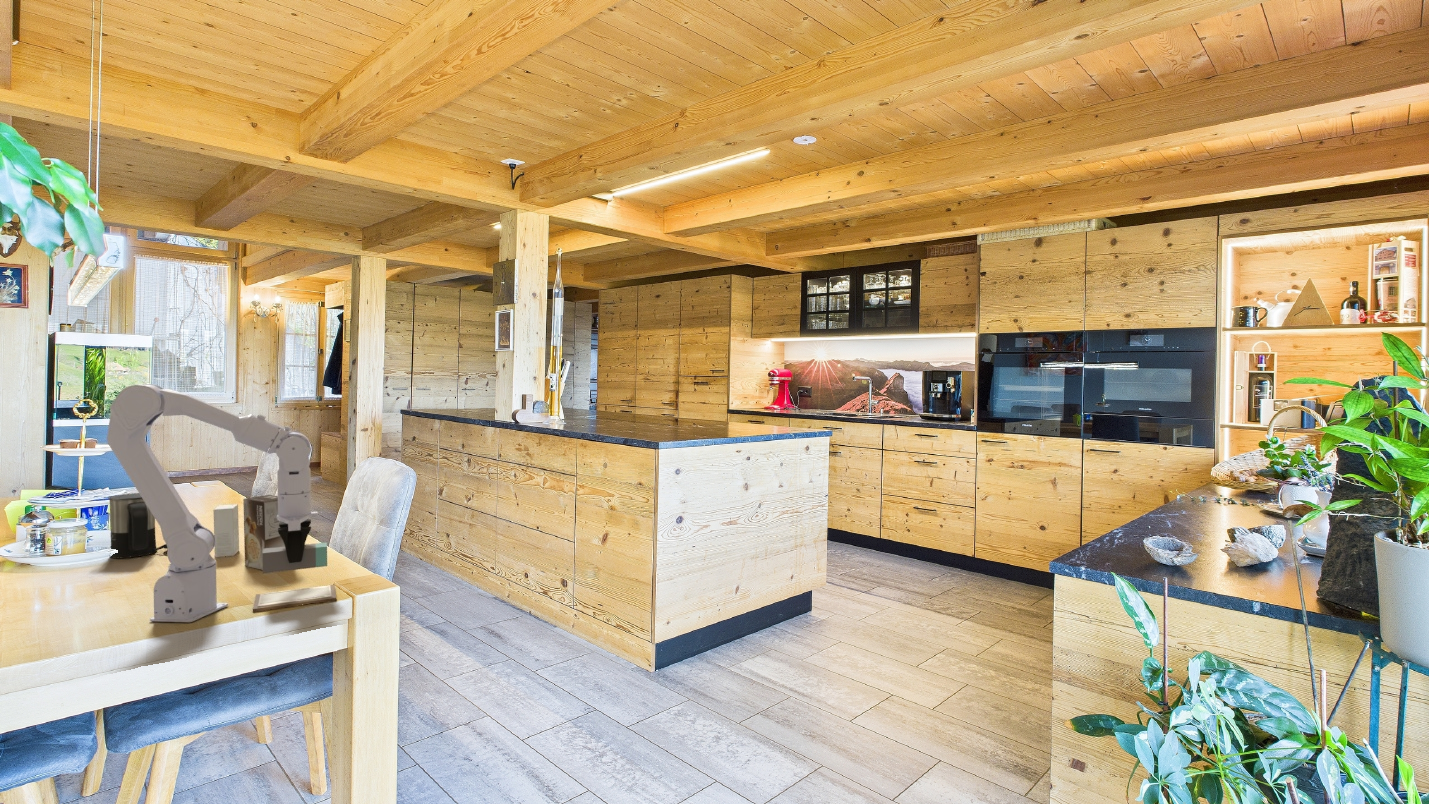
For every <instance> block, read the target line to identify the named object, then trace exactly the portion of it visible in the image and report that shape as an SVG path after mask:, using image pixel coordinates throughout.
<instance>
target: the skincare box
mask: <svg viewBox="0 0 1429 804" xmlns="http://www.w3.org/2000/svg"><path fill="white" fill-rule="evenodd" d="M239 528H240V526H239V505H238V504H237V503H233V504H219V505H218V506H216V507H215V508H214V509H213V534H214V536H215V546H214V557H215V558H223V557H225V556H226V557H235V555H236V554H237V553H238V552H239V551H240V529H239Z"/></svg>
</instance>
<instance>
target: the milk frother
mask: <svg viewBox="0 0 1429 804" xmlns="http://www.w3.org/2000/svg"><path fill="white" fill-rule="evenodd" d="M107 499H108V500H109V523H110V526H109V528H110V548H111V549H116V550H118V553H115V554H113V555H112V556H111V557H110V558H112V559H128V558H135V557H143V556H148V555H152V554H155V553H157V552H158V551H159V550H162V549H165V550H166V549H167V550H168V548H167V545H166V543H165V544H162V545H161V546H159V547H157V540H156V519H155V517H154V516H153V514H152V513H151V511H150V510H149V508H148V506H147V505H146V503H145V502H144V500H143V498H142V497H141V495H140V494H139V492H134V493H133V492H132V493H126V494H125V493H124V494H116V495H111V496H108V497H107ZM110 548H109V549H110Z"/></svg>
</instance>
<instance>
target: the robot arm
mask: <svg viewBox="0 0 1429 804" xmlns="http://www.w3.org/2000/svg"><path fill="white" fill-rule="evenodd" d="M109 409H110V416H109V423H108V429H107V435H106V442H107V445H109V447H110V449H111V451H112V452H113V454H114V456H115V458H116V459H117V460H118V462H119V464H120V465H121V467H122V469H123V470H124V471H125V473H126V475H127V476H128V478H129V479H130V481H131V483H132V485H133V486H134V488H135V489H136V491H137V493H139V494H140V495H141V497H142V498H143V500H144V502H145V503H146V505H147V506H148V508H149V510H150V511H151V513H152V514H153V516H154V517H155V522H157V523H158V525H159V528H160V532H161V536H162V539H163V541H164V543H165V544H166V545H167V548H168V549H167V559H168V561H169V562H170V563H169V564H168V566H167V567H168V569H167V571H166V573H165V574H164V575H163V576H161V577H159V578H158V579H157V580H156V582H155V583H154V586H153V615H154V616H152V617H151V618H149V621H150V622H159V623H160V622H164V623H168V622H169V623H171V622H172V623H192V622H195V621H196V620H199V619H201V618H204V617H205V616H208V615H211V614H212V613H215V612H218V611H219V610H222V609H223V608H225V607H228V606H229V603H228V602H217V598H218V597H217V592H218V591H217V590H218V589H217V560H216V558H215V559H214V557H212V555H211V552H212V551H213V549H215V547H214V546H215V536H214V532H213V531H211V529H209V528H207V527H205V526H203V525H202V524H201V523H200V521H199V519H198V518H197V517H196V516H195V515H194V514H192V513H191V512H190V510H189V509H188V507H187V505H186V504H185V501H183V499H182V497H181V495H180V494H179V492H178V490H177V489H176V487H175V486H174V483H172V481H171V479H170V478H169V476H168V475H167V473H166V471H165V470H164V468H163V466H162V464H161V463H160V461H159V459H158V458H157V456H156V454H155V453H154V451H153V450H152V448H151V447H150V444H149V443H148V442H147V440H146V438H147V435H148V433H149V432H150V430H151V428H152V426H153V424H154V422H155V421H156V420H157V419H158V418H160V416H161V415H162V416H163V417H169V416H170V417H171V416H187V417H189V418H192V419H194V420H198V421H200V422H202V423H203V422H204V423H205V424H209V425H212V426H215V427H217V428H220V429H223V430H226V431H229V432H231V433H232V435H233V438H234V441H236V442H238V443H241V444H243V445H245V446H248V447H250V448H254V449H256V450H258V451H261V452H263V453H266V454H275V455H276V456H277V457H278V469H277V472H276V473H277V496H278V515H277V520H279V521H282V523H279V527H280V528H278V533H279V535H280V536H281V538H282V540H283V542H284V545H285V548H286V553H287V558H288V561H289V563H295V562H301V561H302V557H303V552H304V546H305V544H306V542H307V539H308V536H309V534H310V532H311V529H312V526H311V523H312V520H311V518H314V517H315V518H316V517H318V516H319V512H318V511H312V479H311V477H312V476H311V475H312V474H311V472H312V471H311V470H312V469H311V467H310V465H311V460H310V458H309V457H310V454H311V452H312V447H311V442H310V439H309V438H308V436H306V435H305V434H303V433H302V432H300V431H299V430H291V429H292V426H288V425H285V427H284V426H281V425H279V424H277V423H274V422H272V421H269V420H267V419H266V418H267V417H266V416H265V415H263V414H261V413H258V415H254V414H247V415H243V416H239V415H236V414H234V413H231V412H229V411H227V410H224V409H222V408H221V407H217V406H215V405H213V404H211V403H208V402H206V401H205V400H202V399H200V398H197V397H194V396H192V395H190V394H187V393H184V392H181V391H177V390H174V389H170V388H163V387H161V386H159V385H157V384H153V383H144V384H133V385H129V386H126V387H125V388H122V390H121V391H120V392H119V393H118V394H117V395H116V397H115V398H114V400H113V401H112V403H111V404H110V407H109Z"/></svg>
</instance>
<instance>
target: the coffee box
mask: <svg viewBox="0 0 1429 804" xmlns="http://www.w3.org/2000/svg"><path fill="white" fill-rule="evenodd" d="M242 501H243V502H242V503H243V505H242V506H243V537H244V545H243V546H244V566H245V567H248V568H253V569H258V570H262V571H263V557H262V553H263V549H265V548H275V547H285V545H284V542H283V540H282V538H281V536H280V535H279V533H278V528H280V527H279V523H282V521H279V520H277V515H278V495H272V494H266V495H259V496H252V497H247V498H243V500H242Z"/></svg>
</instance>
